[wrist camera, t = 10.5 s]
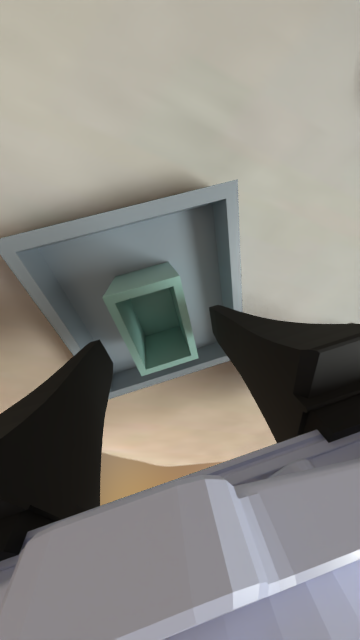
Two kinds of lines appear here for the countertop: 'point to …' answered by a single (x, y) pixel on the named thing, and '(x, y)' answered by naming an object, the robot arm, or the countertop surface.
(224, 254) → the grey tray
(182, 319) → the small crate
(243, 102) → the countertop surface
